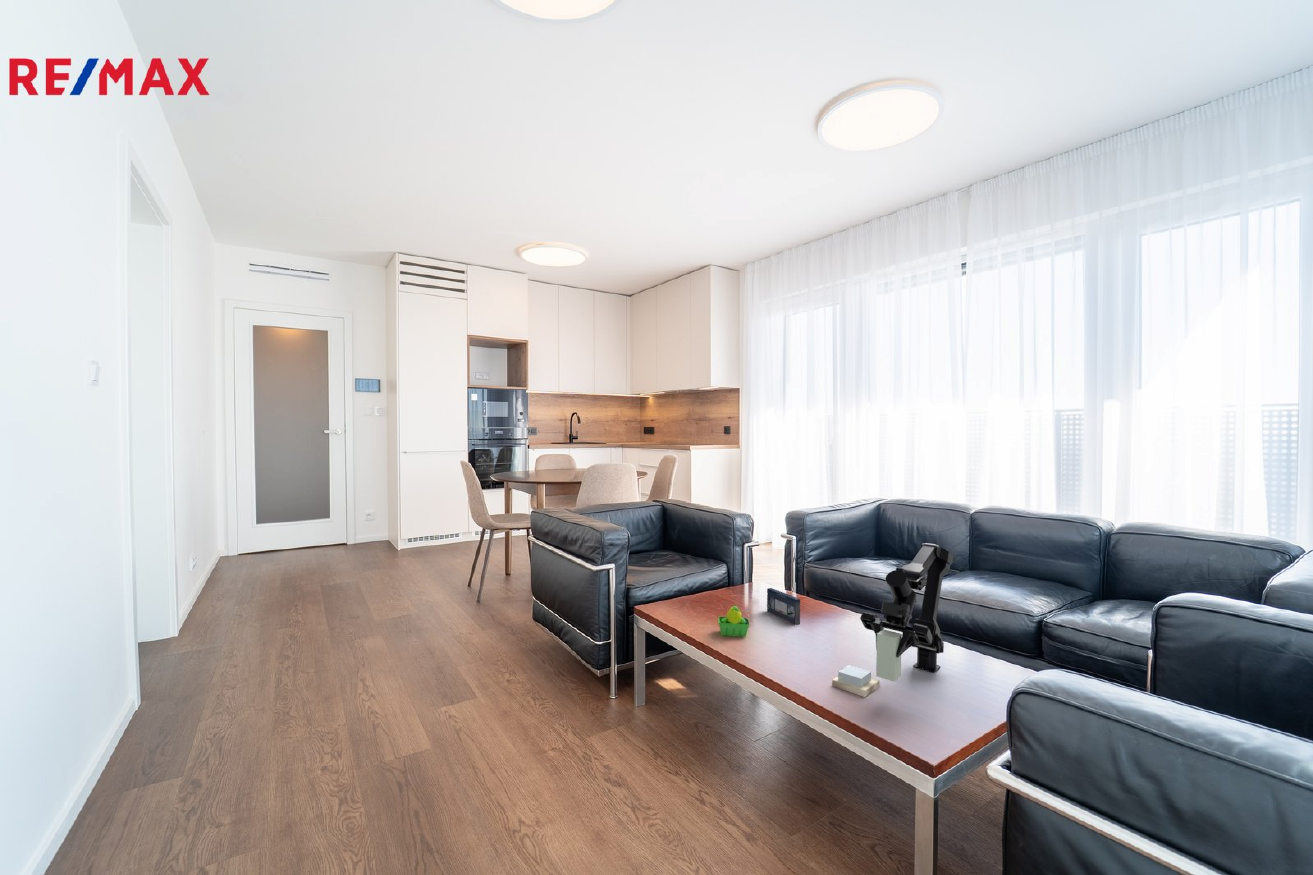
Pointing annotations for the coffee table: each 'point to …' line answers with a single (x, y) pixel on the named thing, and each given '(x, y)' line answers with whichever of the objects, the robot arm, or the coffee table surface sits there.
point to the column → (888, 655)
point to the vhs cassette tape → (783, 606)
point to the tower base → (857, 690)
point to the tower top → (854, 675)
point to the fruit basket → (733, 623)
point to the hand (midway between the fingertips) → (887, 654)
